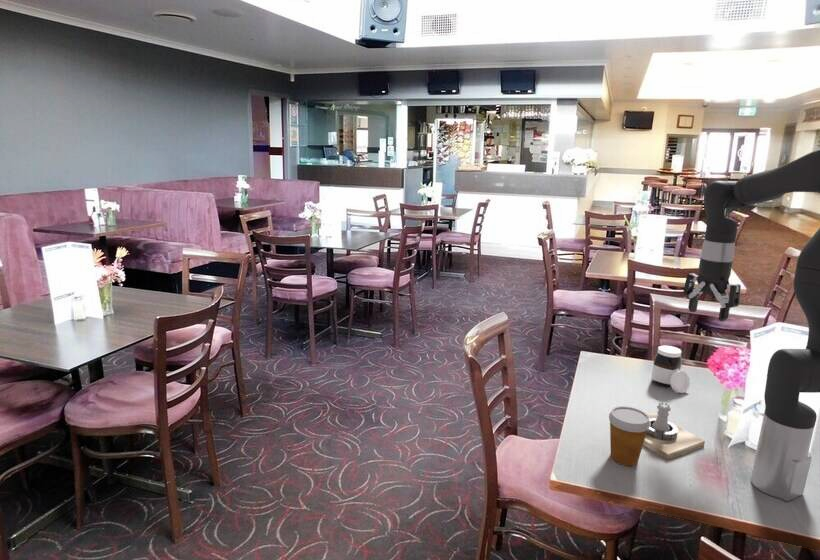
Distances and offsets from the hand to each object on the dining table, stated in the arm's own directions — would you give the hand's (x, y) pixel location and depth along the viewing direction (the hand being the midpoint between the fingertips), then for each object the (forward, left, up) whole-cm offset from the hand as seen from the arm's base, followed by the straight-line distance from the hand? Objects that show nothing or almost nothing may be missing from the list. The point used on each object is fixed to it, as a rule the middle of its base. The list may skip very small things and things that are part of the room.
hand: (706, 315), depth 146 cm
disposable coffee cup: (-7, +34, -30) cm, 46 cm away
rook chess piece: (-4, +18, -29) cm, 34 cm away
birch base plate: (-4, +18, -30) cm, 35 cm away
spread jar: (+16, -12, -30) cm, 36 cm away
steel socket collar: (-4, +18, -29) cm, 34 cm away
